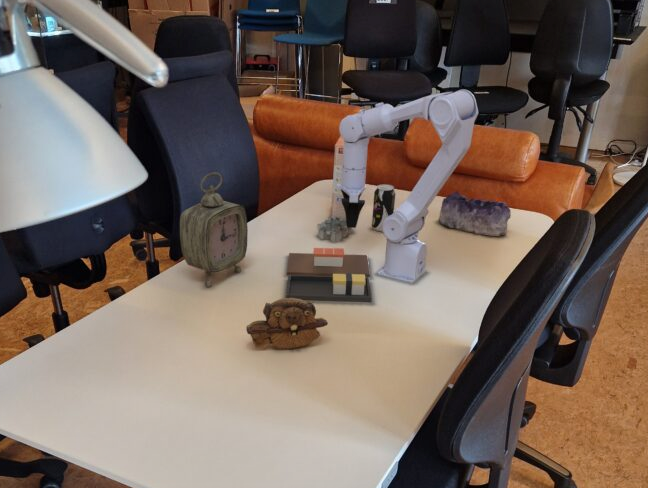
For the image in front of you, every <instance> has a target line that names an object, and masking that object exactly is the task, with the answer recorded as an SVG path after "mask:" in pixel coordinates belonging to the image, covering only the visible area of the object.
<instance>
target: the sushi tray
mask: <svg viewBox="0 0 648 488" xmlns="http://www.w3.org/2000/svg"><path fill="white" fill-rule="evenodd" d="M365 281H366V283H365V285H364V295H345V294H333V276H314V275H287V283H286V292H285V293H286V294H285V298H296V299H301V300H304V301H306V302H308V301H312V302H339V303H346V302H347V303H372V290H371V283H370V278H369V277H365Z"/></svg>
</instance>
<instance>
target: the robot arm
mask: <svg viewBox="0 0 648 488" xmlns="http://www.w3.org/2000/svg"><path fill="white" fill-rule="evenodd" d="M478 115H479V109H478V104H477V100H476V97H475V95H474V94H473V93H472V92H471V91H470V90H468V89H464V88H463V89H459V90H456V91H454V92H453V91H445V92H441V93H435V94H430V95H426V96H423V97H420V98H418V99H415V100H412V101H410V102H407V103H404V104H401V105H399V106H396V107H394V106H393V105H391V104H389V103H384V102H378V103H375V105H374V107H372V108H369V109H366V108H363V109H360V110H359V111H358V113H355V114H348V115H346V117H343V119H341V121H340V123H339V127H338V128H339V134H340V136H342V138H343V139H344V145H343V165H342V183H341V184H337V189H341V191H342V194H343V197H344V198H341V202H342V205H343V207H344V210H345V214H346V224H347V228H352V229H356V228H357V226H358V221H359V217H360V214H361V212H362V210H363V207H364V206H365V204H366V200H365V199H360V198H361V196H362V194H363V192H364V191H365V190H366V187H367V185H366V176H367V164H368V163H367V161H368V147H369V144H370V138H371V137H374V136H377V135H381V134H384V133H388V132H391V131H394V129H395V128H396V127H397V126H398V123H399V122H402V121H406V120H410V119H414V118H419V117H423V118H424V119H425V120H426V121H430V122H431V124H432V126H433V128H434V129H435V131H436V134H437V135H438V137H439V139H440V141H441V147H439V149H438V151H437V153H436V154H435V156H434V157H433V158H432V160H431V162H430V163H429V165H428V166H427V167H426V169H425V170H424V172H423V173H422V175H421V176H420V177H419V179H418V181H417V183H416V184H415V186H414V187H413V189H412V190H411V192H410V193H409V195H408V196H407V198H406V199H405V201H403V202H402V203H400V205H399V206H397V208H395V209H394V213H393V214H392V215H390V216H388V217H386V218H385V220H384V221H383V224H382V230H383V232H382V233H383V235H384V237H385V240H386V245H385V256H384V267H383V268H382V269H380V270H378V271H377V275H380V276H385V277H388V278H391V279H392V278H393V279H396V280H400V281H404V282H407V283H414V282H416V280H418V279H420V278H421V276H422V275H424V274H425V273H426V261H427V254H428V246H427V244H426V243H424V242H422V241H420V240H419V239H418V237H419V233H420V232H421V230H423V228H424V227H425V223H426V218H427V216H428V215H429V207H430V205H431V204H432V203H433V201H434V199H436V197H437V196H438V194H439V193H440V191H442V188H443V187H444V186H445V184H446V182H447V181H448V180H449V179H450V177H451V175H452V174H453V172H454V171H455V170H456V168H457V167H458V166H459V164H460V163H461V161H462V160H463V158H464V157H465V155H466V154H467V152H468V151H469V150H470V147H471V144H472V139H473V131H474V128H475V127H474V125H475V121H476V119H477V118H478Z"/></svg>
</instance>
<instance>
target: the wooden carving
mask: <svg viewBox="0 0 648 488" xmlns="http://www.w3.org/2000/svg"><path fill="white" fill-rule="evenodd" d="M262 314H263V315H264V317H265V320H264V319H263V320H262V319H261V320H254V321H252V322H251V323H249V324H247V325H246V327H245V328H246V333H247V335H250V337H251V339H252V342H253V344H254V347H256V348H261V347H262V348H263V347H264V346H267V345H271V346H272V347H275V348H278V349H294V348H299V347H303V346H306V345H308V344H311V343H312V342H313V341H315V340H317V339H318V338H319V337H320V336H321V334H320V332H319V330H318V329H319V328H324V327H326V326H328V324H329V323H328V320H326V319H325V318H323V317H319V318H318V317H317V318H316V316H317V309H316V306H315V304H314V303H313V301H304V300H301V299H296V298H286V297H284V298H280V299H277V300H275V301H273V302H271V303H269V302H266V303H265V305H264V307H263V310H262Z"/></svg>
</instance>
